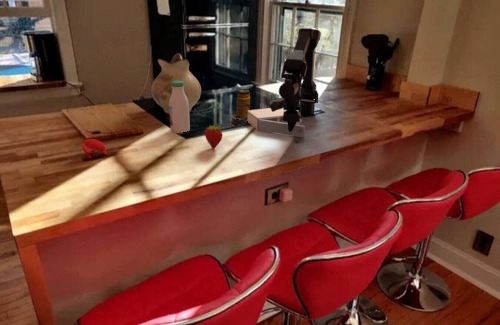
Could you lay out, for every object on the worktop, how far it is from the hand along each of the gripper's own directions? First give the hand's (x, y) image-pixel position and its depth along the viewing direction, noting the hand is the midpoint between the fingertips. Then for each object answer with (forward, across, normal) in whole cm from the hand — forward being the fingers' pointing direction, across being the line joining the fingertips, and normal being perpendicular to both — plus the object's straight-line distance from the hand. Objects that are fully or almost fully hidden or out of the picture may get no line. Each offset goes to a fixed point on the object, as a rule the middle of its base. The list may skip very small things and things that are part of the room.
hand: (290, 131), depth 147 cm
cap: (+3, +27, -66) cm, 72 cm away
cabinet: (+3, -17, -7) cm, 19 cm away
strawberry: (+3, +14, -28) cm, 31 cm away
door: (+3, -4, -4) cm, 6 cm away
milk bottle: (+3, -2, -44) cm, 44 cm away
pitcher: (+3, -28, -53) cm, 60 cm away
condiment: (+3, -23, -22) cm, 32 cm away
